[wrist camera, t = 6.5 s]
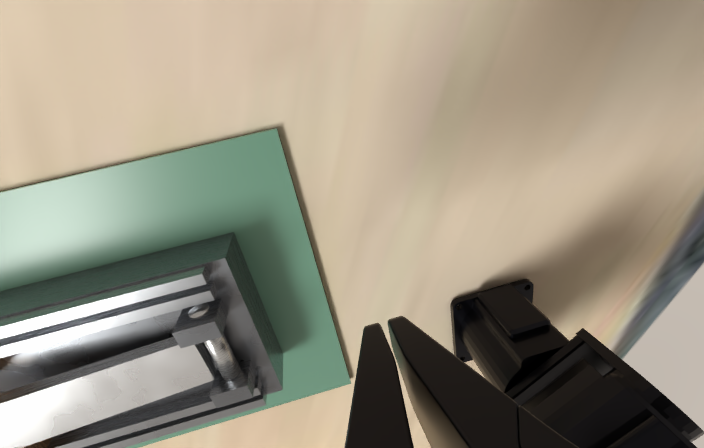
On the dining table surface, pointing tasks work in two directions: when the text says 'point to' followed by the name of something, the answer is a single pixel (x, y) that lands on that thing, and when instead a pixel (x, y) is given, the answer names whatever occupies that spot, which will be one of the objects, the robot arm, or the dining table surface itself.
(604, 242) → the dining table surface
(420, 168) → the dining table surface
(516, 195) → the dining table surface
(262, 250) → the board
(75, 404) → the grey flat long bar
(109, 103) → the dining table surface
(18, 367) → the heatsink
